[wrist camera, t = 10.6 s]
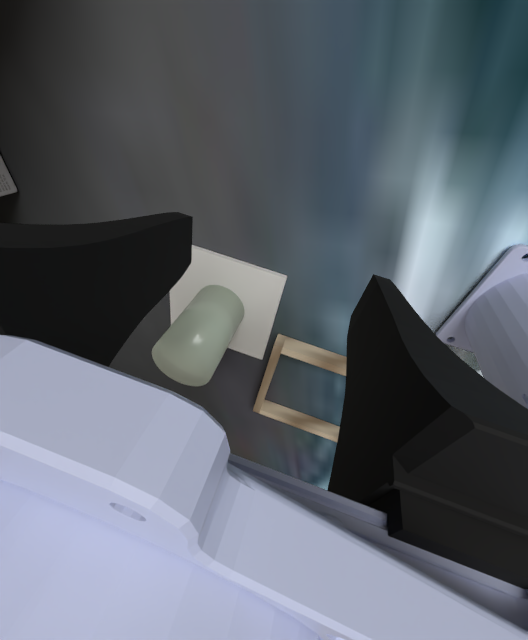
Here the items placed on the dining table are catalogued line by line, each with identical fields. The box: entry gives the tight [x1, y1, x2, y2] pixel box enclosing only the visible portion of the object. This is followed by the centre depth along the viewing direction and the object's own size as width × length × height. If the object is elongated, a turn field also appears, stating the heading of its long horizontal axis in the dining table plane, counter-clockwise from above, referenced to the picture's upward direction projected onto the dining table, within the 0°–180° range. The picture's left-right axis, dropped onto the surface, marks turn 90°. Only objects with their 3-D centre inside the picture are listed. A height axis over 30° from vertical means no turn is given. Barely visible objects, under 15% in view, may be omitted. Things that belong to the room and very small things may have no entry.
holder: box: [253, 334, 347, 442], centre depth 29 cm, size 12×12×2 cm
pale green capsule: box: [152, 285, 245, 386], centre depth 23 cm, size 6×5×7 cm
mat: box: [170, 245, 287, 360], centre depth 26 cm, size 10×10×1 cm
